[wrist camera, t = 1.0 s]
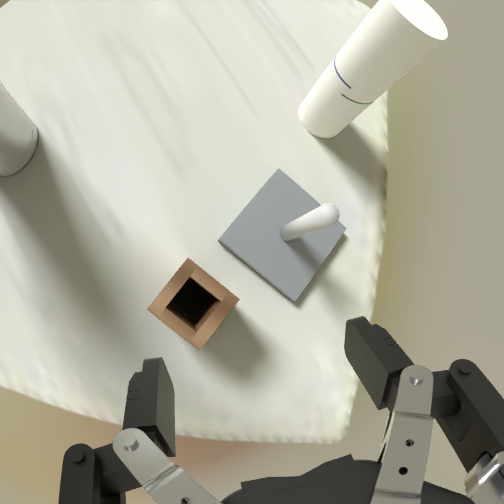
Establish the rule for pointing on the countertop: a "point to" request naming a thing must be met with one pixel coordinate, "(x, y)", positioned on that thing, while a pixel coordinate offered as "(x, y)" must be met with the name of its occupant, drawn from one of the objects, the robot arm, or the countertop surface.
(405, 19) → the cylindrical container
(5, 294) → the countertop surface
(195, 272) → the collar
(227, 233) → the post stand
